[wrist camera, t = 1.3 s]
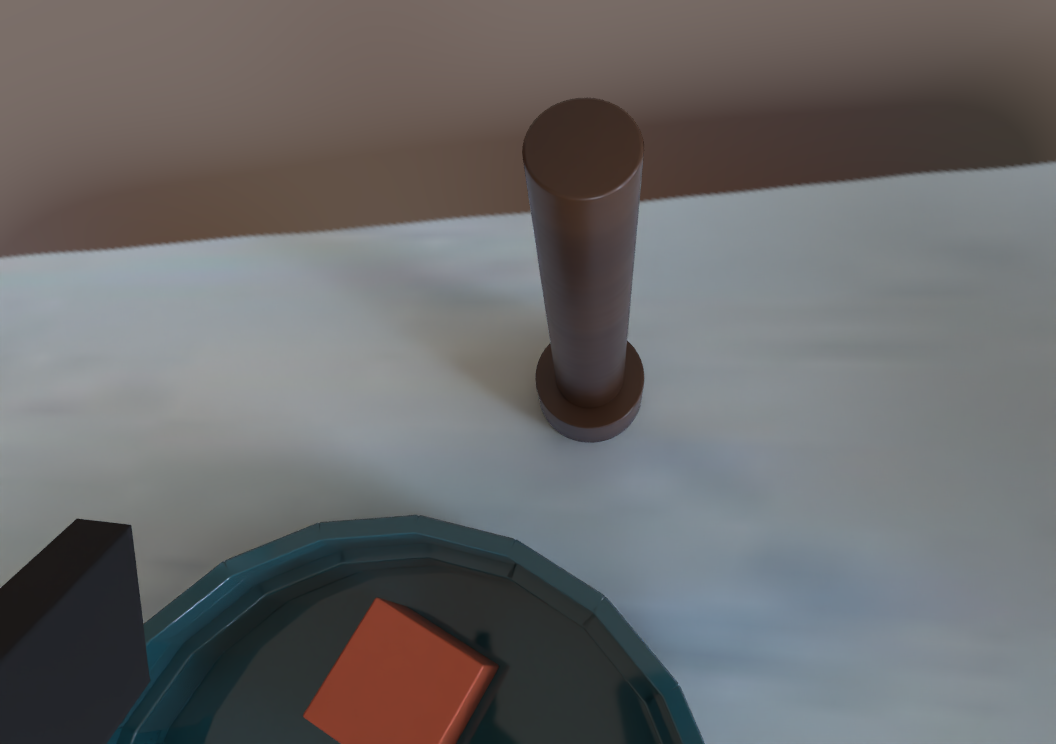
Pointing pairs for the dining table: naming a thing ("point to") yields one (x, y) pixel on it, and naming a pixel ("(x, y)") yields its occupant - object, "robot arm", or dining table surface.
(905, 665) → the dining table surface
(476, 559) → the bowl
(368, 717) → the terracotta block
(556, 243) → the pestle
